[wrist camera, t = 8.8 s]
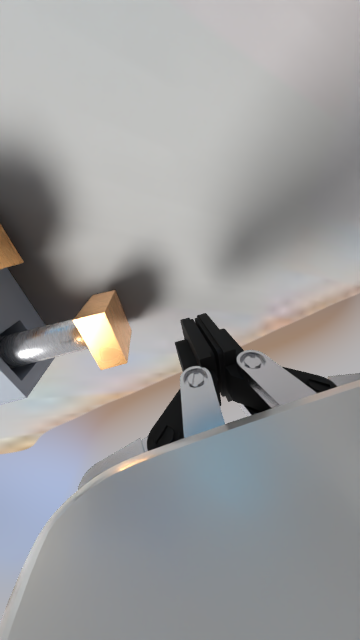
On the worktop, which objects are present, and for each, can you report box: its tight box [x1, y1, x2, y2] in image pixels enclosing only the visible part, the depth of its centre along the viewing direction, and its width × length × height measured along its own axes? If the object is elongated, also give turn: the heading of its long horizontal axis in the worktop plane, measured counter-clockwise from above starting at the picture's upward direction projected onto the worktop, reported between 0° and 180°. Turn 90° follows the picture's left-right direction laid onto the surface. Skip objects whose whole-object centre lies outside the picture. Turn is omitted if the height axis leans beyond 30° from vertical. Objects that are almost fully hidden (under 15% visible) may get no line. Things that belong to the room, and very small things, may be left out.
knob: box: [0, 290, 131, 370], centre depth 14 cm, size 12×4×5 cm, turn 101°
